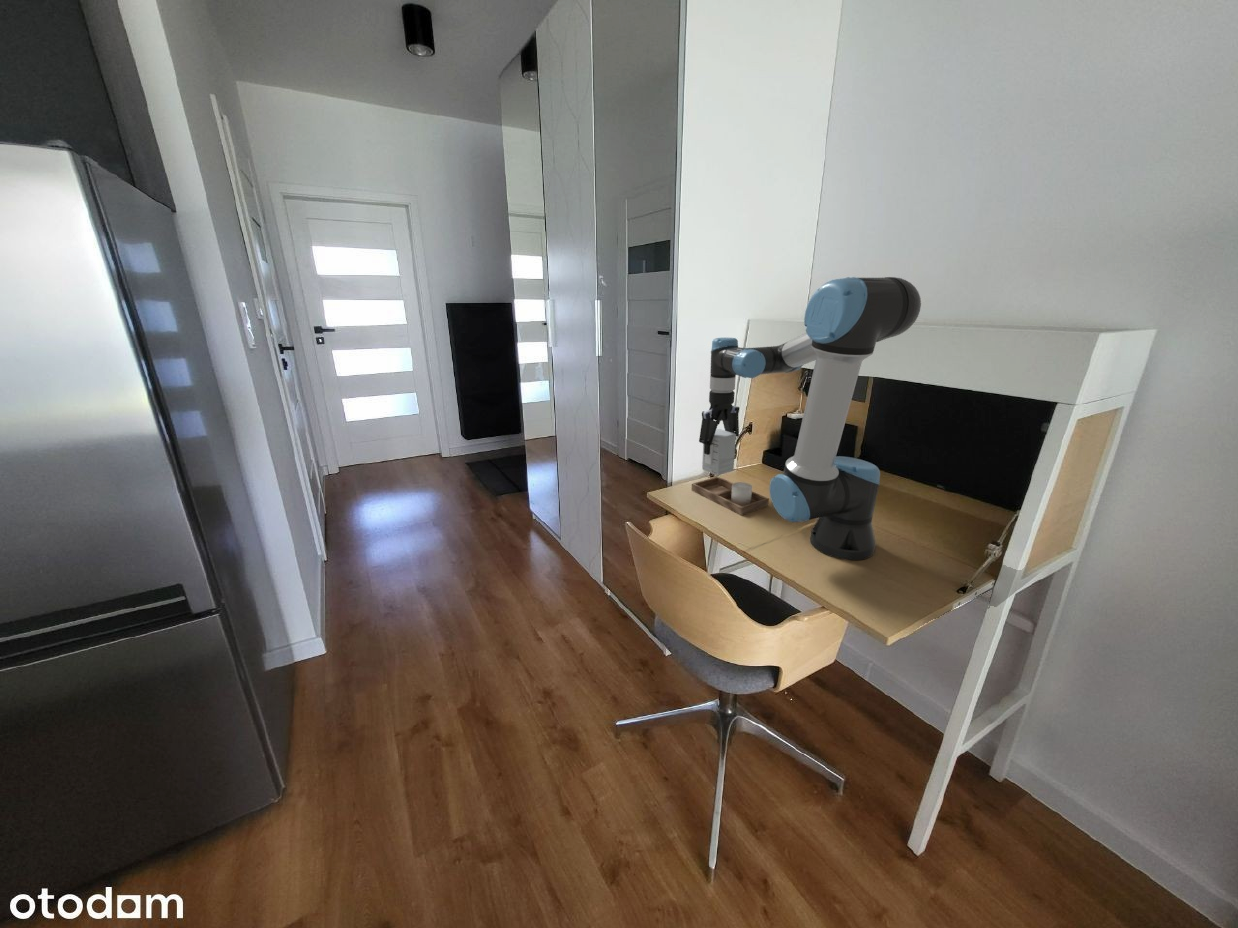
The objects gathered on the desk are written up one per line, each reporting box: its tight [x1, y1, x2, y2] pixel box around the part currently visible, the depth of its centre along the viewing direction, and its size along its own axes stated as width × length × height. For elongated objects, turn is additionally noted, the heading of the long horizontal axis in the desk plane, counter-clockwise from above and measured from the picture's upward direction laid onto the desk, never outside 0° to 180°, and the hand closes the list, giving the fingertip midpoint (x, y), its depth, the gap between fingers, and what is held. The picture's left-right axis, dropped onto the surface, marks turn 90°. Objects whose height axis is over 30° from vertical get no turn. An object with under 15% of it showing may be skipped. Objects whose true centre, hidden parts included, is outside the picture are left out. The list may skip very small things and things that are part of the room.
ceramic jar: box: [731, 481, 753, 506], centre depth 141 cm, size 6×6×6 cm
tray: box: [691, 475, 770, 516], centre depth 146 cm, size 22×12×3 cm, turn 32°
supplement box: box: [701, 428, 737, 477], centre depth 146 cm, size 7×7×13 cm
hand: (718, 460), depth 147 cm, fingers closed on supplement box, 7 cm apart
